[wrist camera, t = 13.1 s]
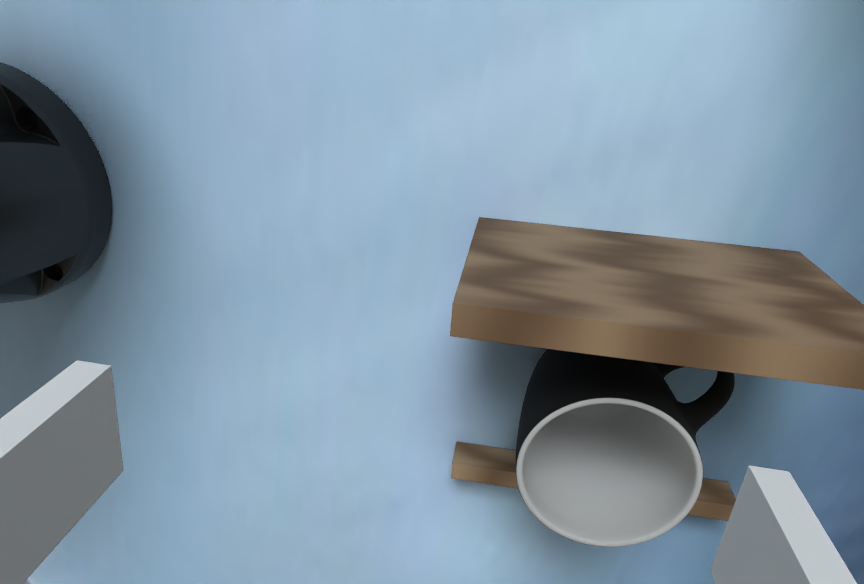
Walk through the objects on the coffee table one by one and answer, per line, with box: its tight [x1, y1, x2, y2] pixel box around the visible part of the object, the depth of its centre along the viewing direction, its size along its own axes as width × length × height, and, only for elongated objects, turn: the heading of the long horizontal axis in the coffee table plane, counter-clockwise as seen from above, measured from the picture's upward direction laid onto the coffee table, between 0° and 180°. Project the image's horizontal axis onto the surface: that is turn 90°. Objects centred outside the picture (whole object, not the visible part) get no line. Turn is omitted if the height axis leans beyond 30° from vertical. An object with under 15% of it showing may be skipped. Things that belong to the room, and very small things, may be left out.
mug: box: [516, 349, 734, 547], centre depth 35 cm, size 12×9×10 cm
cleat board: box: [450, 217, 864, 521], centre depth 34 cm, size 18×17×13 cm
